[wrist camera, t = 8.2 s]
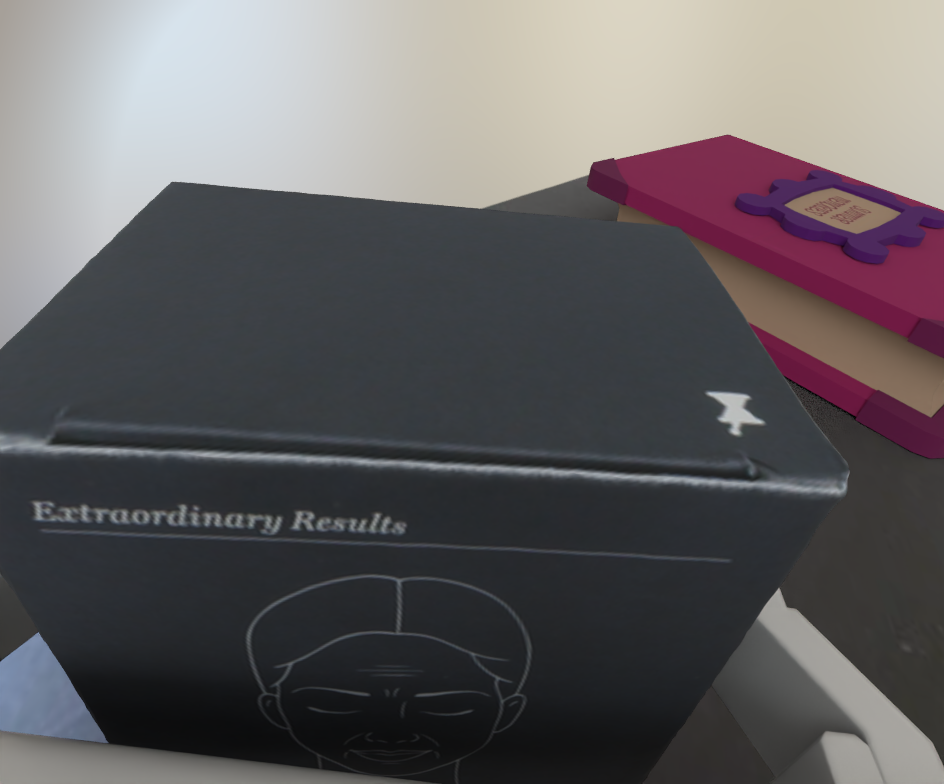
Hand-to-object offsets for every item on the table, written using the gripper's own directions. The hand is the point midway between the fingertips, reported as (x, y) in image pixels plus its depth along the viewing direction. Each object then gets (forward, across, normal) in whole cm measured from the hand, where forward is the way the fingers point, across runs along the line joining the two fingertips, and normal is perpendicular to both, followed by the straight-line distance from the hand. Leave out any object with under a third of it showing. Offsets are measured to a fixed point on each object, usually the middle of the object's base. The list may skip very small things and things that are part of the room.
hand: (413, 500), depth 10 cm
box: (-1, 0, +6) cm, 6 cm away
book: (+36, -24, +14) cm, 45 cm away
